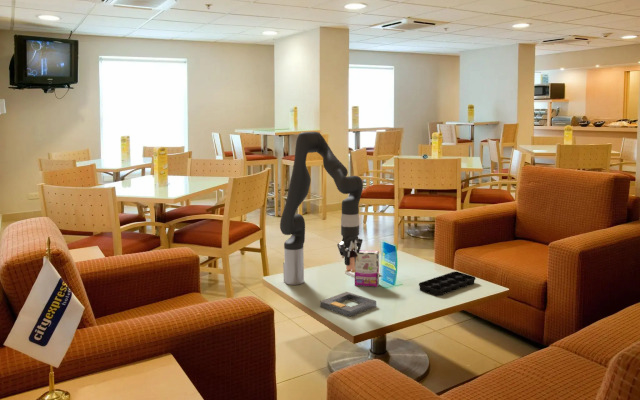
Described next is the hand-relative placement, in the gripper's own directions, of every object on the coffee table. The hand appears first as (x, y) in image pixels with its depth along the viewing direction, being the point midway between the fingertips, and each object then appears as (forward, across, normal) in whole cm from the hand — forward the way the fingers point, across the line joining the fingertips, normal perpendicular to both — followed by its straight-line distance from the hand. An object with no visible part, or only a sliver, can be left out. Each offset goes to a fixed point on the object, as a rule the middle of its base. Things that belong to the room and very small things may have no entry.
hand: (350, 264), depth 229 cm
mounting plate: (+19, -37, -25) cm, 48 cm away
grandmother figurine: (+3, 0, 0) cm, 3 cm away
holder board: (+18, +1, 0) cm, 18 cm away
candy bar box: (+19, -26, -13) cm, 34 cm away
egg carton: (+19, -50, +16) cm, 56 cm away
